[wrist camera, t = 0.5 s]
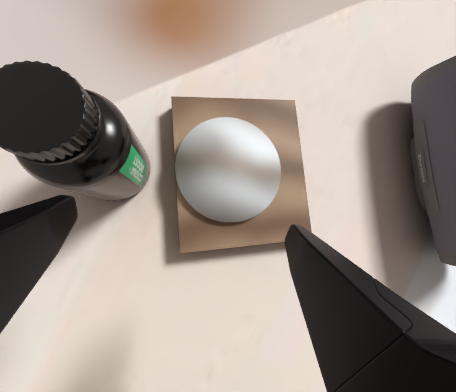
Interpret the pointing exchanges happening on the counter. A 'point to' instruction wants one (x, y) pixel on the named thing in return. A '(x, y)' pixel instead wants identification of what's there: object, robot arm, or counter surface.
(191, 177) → the walnut board
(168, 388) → the counter surface
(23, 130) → the supplement bottle
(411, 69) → the counter surface
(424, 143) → the bluetooth speaker
